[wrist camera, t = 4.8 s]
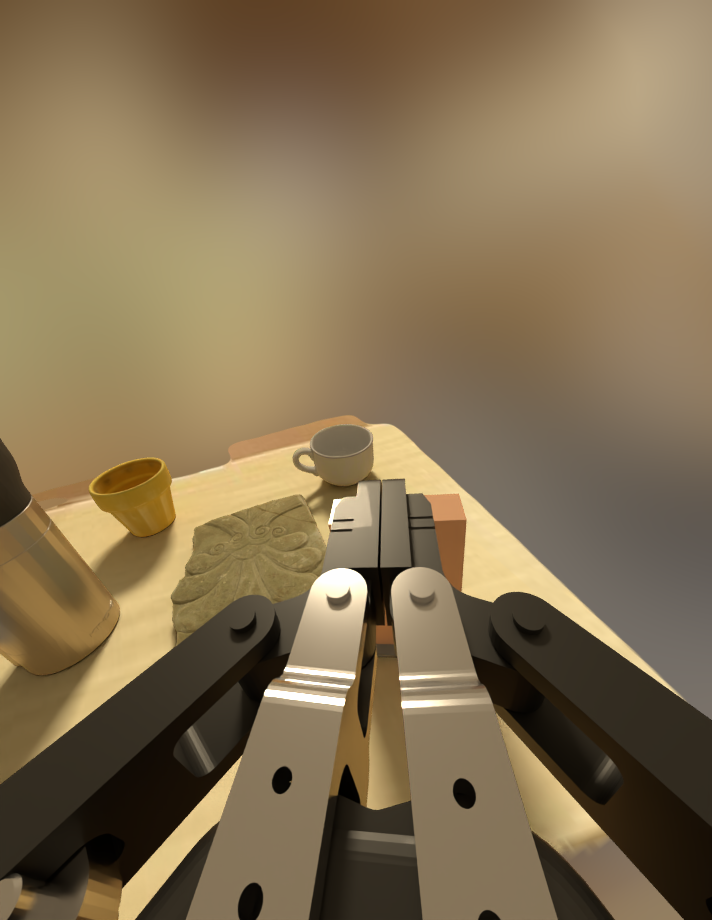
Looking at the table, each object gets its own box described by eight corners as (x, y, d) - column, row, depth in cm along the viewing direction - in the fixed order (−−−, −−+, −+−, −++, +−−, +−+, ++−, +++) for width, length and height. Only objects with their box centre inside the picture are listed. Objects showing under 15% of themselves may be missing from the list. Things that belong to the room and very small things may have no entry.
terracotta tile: (354, 643, 33) (328, 524, 25) (357, 614, 35) (334, 498, 27) (457, 645, 32) (466, 519, 23) (452, 615, 34) (458, 493, 26)
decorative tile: (305, 504, 55) (301, 487, 53) (347, 601, 38) (342, 581, 36) (187, 544, 50) (177, 527, 48) (176, 674, 33) (161, 655, 32)
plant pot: (200, 502, 58) (177, 455, 53) (163, 546, 49) (132, 494, 44) (148, 503, 60) (122, 457, 55) (104, 545, 51) (68, 496, 46)
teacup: (372, 457, 64) (368, 419, 60) (381, 489, 55) (377, 448, 51) (301, 468, 64) (292, 431, 60) (298, 502, 55) (287, 461, 50)
